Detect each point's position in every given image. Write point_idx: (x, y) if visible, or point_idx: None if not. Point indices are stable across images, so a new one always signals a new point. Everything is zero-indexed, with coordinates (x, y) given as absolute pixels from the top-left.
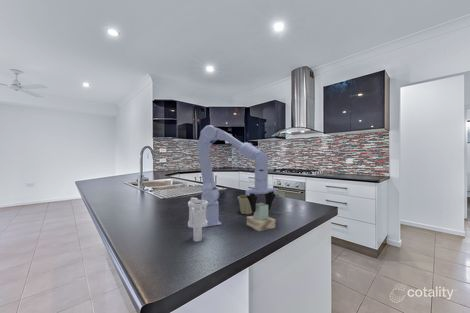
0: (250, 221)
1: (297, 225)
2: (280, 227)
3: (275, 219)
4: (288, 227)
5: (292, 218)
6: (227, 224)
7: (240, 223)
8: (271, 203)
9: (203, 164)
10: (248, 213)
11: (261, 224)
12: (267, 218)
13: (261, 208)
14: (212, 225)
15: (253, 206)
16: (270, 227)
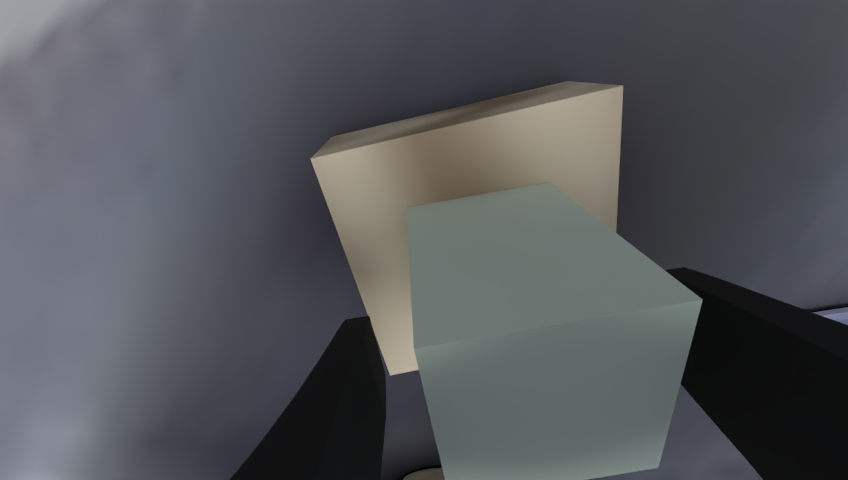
0: None
1: (23, 132)
2: (270, 127)
3: (312, 157)
4: (167, 99)
5: (45, 337)
6: None
7: None
8: (283, 419)
9: None
10: (435, 474)
11: (558, 94)
12: (418, 209)
13: (606, 271)
14: (841, 309)
15: (819, 326)
16: (403, 121)
